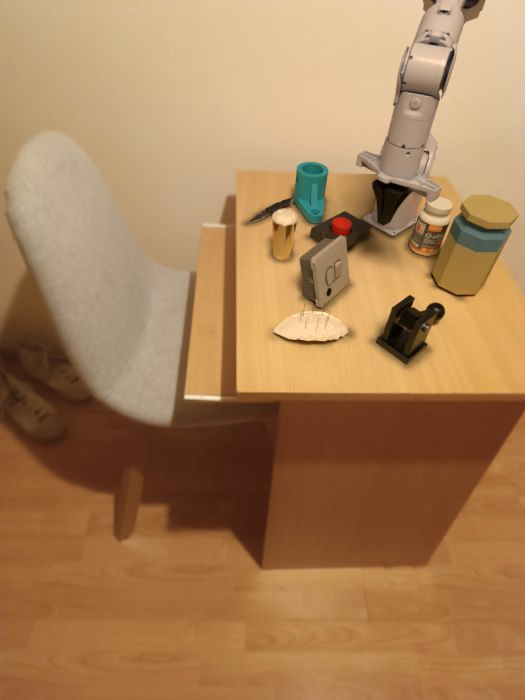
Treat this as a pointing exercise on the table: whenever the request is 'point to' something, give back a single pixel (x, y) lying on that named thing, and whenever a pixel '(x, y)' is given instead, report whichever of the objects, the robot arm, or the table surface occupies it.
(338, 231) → the button
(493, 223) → the jar
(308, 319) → the pincushion
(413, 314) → the lever
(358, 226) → the control block
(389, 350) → the bracket
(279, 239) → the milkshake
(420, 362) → the table surface
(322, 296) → the electrical switch
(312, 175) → the bracket
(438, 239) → the pill bottle
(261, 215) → the folding knife
